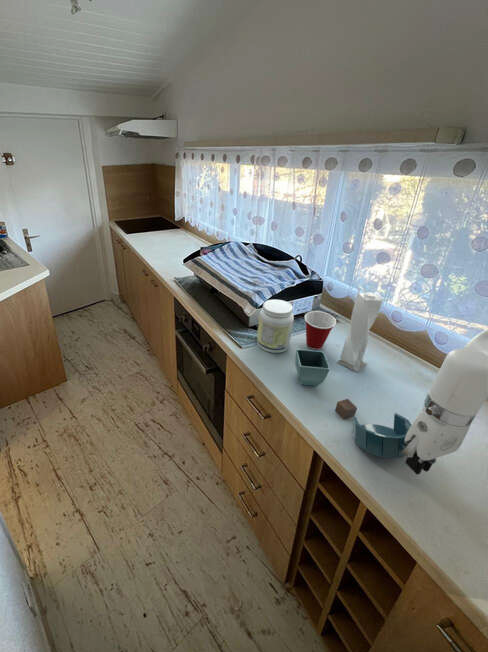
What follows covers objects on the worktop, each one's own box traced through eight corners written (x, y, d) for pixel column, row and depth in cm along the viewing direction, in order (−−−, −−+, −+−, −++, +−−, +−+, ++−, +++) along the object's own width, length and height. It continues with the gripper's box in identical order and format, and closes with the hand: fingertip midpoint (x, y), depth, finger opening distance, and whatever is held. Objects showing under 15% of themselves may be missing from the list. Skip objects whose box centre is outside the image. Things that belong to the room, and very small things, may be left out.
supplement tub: (265, 332, 125) (270, 295, 117) (294, 343, 117) (301, 304, 109) (250, 345, 116) (254, 306, 108) (279, 358, 109) (286, 318, 101)
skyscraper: (332, 360, 108) (352, 289, 95) (343, 351, 112) (363, 282, 99) (357, 372, 102) (381, 298, 89) (367, 362, 107) (392, 290, 93)
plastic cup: (299, 351, 113) (305, 323, 107) (299, 335, 122) (304, 309, 116) (331, 356, 110) (338, 328, 104) (328, 339, 119) (335, 313, 114)
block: (357, 407, 84) (354, 417, 86) (347, 398, 87) (345, 407, 89) (346, 410, 83) (343, 420, 85) (337, 401, 86) (334, 410, 88)
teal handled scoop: (455, 470, 66) (458, 448, 65) (410, 486, 63) (411, 463, 62) (380, 422, 84) (381, 404, 83) (342, 432, 81) (342, 414, 80)
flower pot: (324, 391, 95) (330, 369, 91) (295, 388, 96) (300, 366, 92) (318, 372, 103) (324, 351, 98) (291, 370, 104) (295, 348, 100)
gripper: (435, 432, 54) (402, 493, 63) (500, 413, 58) (460, 473, 67) (399, 402, 61) (374, 460, 70) (459, 386, 64) (428, 444, 73)
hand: (416, 466), depth 68 cm, fingers closed on teal handled scoop
